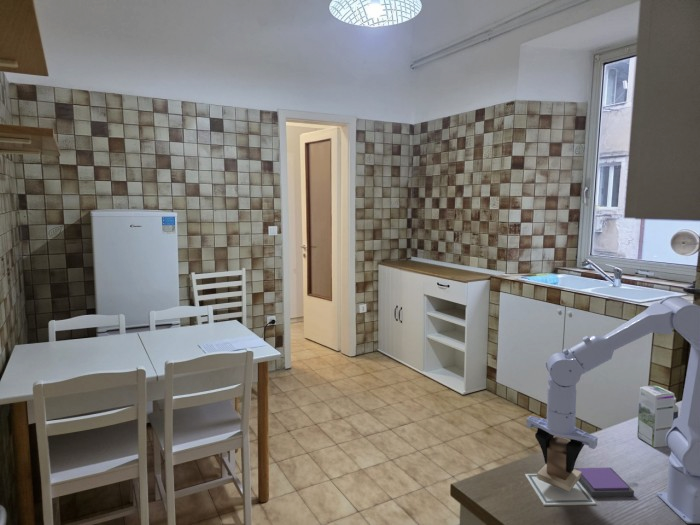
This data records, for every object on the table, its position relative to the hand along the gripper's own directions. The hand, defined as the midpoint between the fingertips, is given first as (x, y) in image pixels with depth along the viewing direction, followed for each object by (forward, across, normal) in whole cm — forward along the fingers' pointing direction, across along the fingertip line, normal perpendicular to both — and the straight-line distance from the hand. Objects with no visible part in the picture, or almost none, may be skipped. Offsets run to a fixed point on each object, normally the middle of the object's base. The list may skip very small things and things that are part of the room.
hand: (559, 466), depth 102 cm
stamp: (+3, 0, 0) cm, 3 cm away
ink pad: (+5, -6, -8) cm, 12 cm away
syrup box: (+6, -10, -38) cm, 40 cm away
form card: (+5, 0, 0) cm, 5 cm away
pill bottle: (+6, -11, -47) cm, 49 cm away
